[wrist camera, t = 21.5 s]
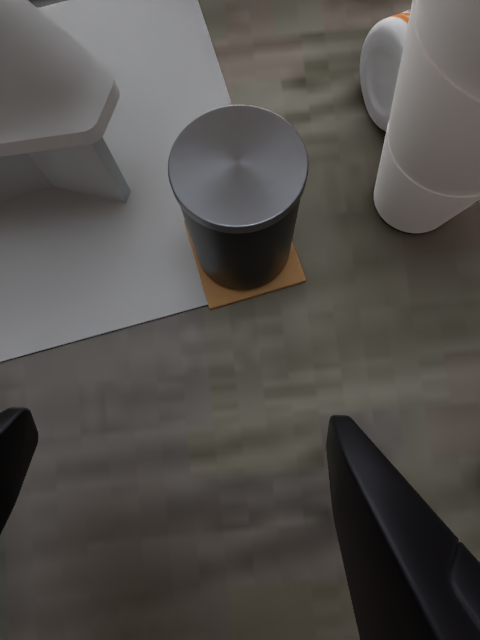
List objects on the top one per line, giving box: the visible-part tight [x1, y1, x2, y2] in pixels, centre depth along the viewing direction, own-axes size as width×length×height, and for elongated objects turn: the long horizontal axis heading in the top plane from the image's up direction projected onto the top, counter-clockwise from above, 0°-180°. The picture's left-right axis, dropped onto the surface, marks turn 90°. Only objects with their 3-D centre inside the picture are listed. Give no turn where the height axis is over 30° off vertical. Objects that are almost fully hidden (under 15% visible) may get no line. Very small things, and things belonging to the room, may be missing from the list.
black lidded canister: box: [168, 105, 308, 290], centre depth 21 cm, size 6×6×8 cm
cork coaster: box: [184, 220, 306, 310], centre depth 25 cm, size 6×6×1 cm
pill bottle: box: [360, 9, 411, 131], centre depth 25 cm, size 6×6×11 cm
